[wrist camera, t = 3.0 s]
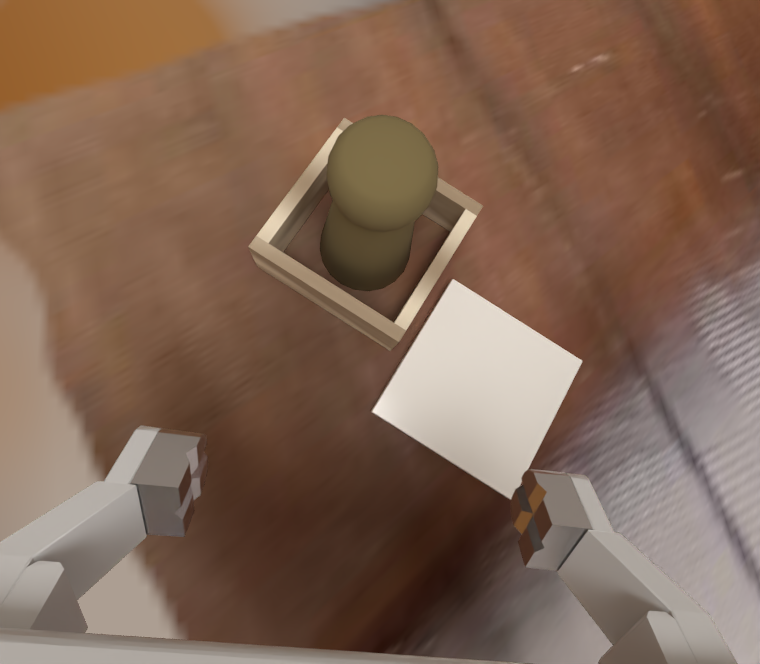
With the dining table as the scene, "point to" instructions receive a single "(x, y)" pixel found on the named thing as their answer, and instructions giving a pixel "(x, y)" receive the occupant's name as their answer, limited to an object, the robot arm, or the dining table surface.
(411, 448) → the dining table surface
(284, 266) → the frame
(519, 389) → the ceramic tile
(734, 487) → the dining table surface
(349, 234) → the cork
